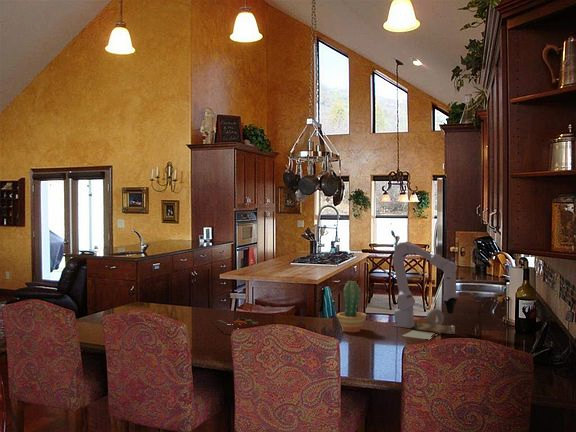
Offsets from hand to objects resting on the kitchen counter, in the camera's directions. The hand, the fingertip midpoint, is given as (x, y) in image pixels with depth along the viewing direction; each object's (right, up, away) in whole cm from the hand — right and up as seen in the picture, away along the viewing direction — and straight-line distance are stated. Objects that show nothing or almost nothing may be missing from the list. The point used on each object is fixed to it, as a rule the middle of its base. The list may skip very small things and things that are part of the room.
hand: (450, 313), depth 267 cm
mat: (-17, -9, -8) cm, 20 cm away
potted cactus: (-49, -10, +6) cm, 50 cm away
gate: (-10, -9, -2) cm, 13 cm away
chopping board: (-107, -11, +21) cm, 109 cm away
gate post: (-1, -9, -8) cm, 12 cm away
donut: (-5, -9, +8) cm, 13 cm away
